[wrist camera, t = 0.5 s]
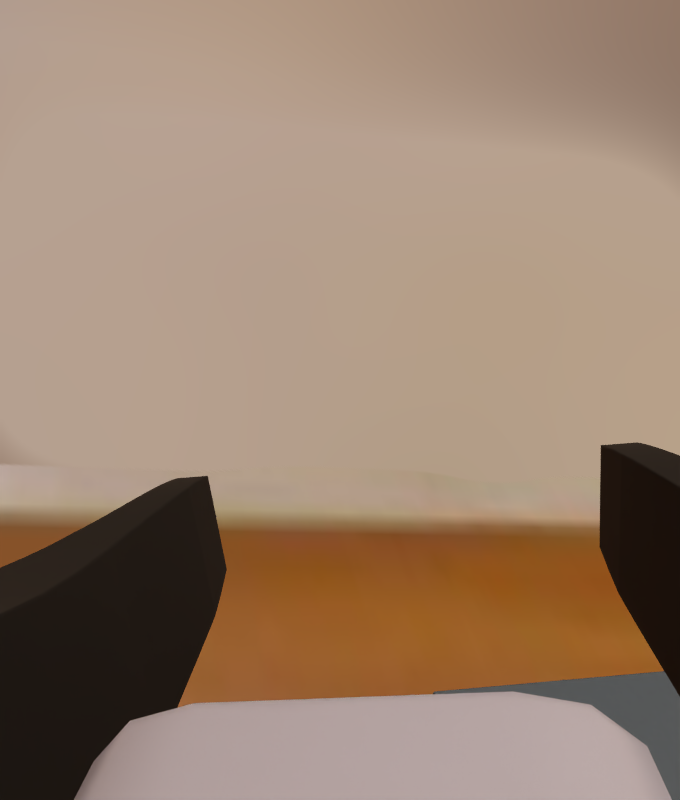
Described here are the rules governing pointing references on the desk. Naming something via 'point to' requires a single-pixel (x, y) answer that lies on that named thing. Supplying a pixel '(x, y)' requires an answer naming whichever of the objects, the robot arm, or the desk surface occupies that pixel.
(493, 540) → the desk surface
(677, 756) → the cabinet
